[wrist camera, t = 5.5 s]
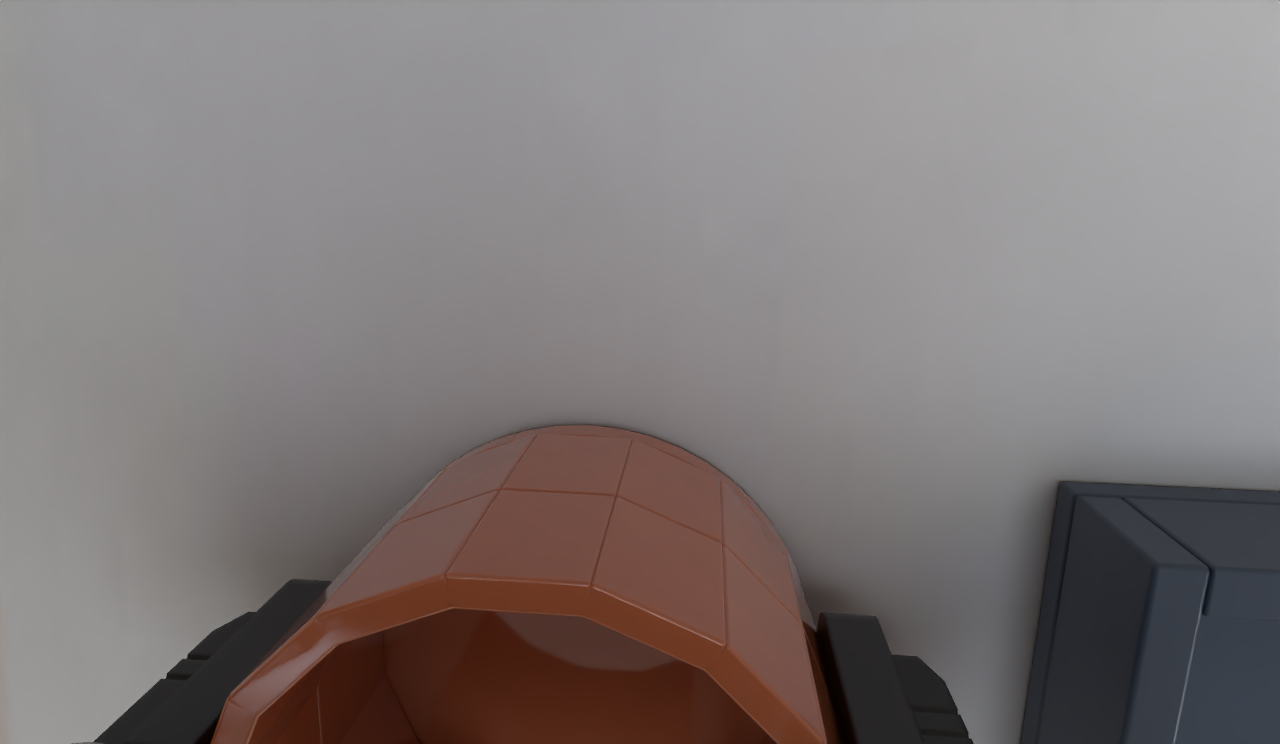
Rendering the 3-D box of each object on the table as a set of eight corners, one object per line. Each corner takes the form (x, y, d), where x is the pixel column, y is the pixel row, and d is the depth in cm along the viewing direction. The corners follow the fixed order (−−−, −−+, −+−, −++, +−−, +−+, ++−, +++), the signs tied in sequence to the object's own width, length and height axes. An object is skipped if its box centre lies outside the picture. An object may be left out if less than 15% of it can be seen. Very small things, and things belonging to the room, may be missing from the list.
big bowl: (384, 799, 13) (225, 1108, 9) (362, 412, 12) (157, 556, 7) (791, 833, 13) (835, 1178, 8) (826, 435, 11) (901, 603, 7)
